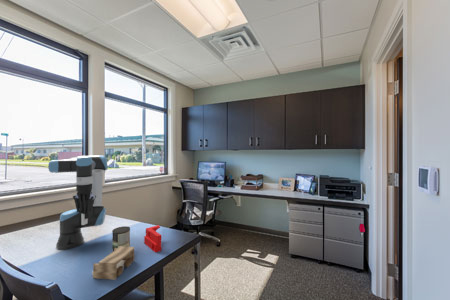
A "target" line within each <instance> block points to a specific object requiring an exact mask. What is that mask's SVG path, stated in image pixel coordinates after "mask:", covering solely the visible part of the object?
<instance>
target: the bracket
mask: <svg viewBox="0 0 450 300" xmlns="http://www.w3.org/2000/svg"><path fill="white" fill-rule="evenodd" d="M160 228H161V226H160V225H159V224H157V225H154V226H150V227H146V228H145V235H144V236H143V238H144V239H143V240H144V242H143V243H144V245H145V246H147V247H148V248H149V249H150V250H152V252H154V253H158V252H161V251H162V234H160V233H159V232H158V231H157V230H158V229H160Z"/></svg>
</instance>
